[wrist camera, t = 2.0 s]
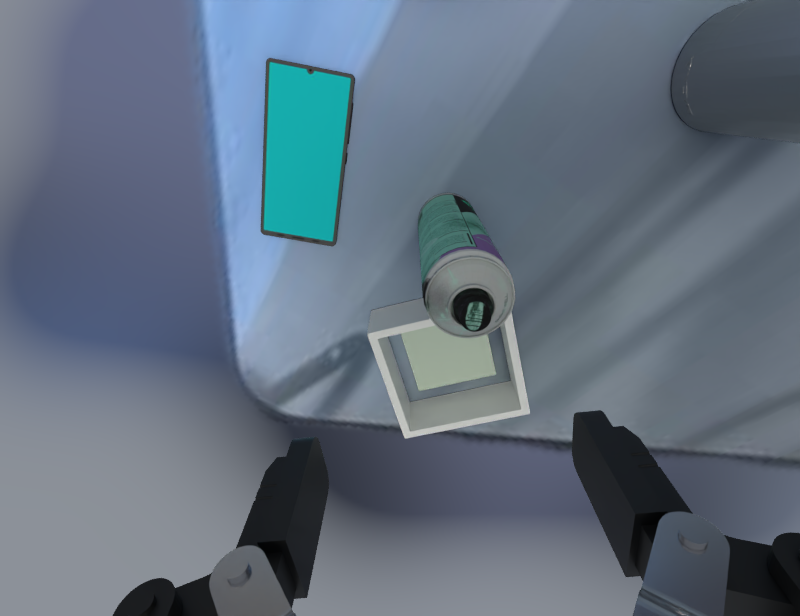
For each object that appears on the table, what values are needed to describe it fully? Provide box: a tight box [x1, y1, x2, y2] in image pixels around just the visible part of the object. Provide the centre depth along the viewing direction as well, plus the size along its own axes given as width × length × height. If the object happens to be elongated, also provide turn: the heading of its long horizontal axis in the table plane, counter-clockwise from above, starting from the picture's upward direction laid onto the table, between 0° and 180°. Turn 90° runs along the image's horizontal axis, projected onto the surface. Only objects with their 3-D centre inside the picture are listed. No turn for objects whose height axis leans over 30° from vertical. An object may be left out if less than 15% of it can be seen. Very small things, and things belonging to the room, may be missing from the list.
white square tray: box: [367, 298, 530, 438], centre depth 45 cm, size 14×14×5 cm
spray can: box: [418, 193, 515, 338], centre depth 32 cm, size 6×6×20 cm
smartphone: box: [261, 58, 355, 246], centre depth 38 cm, size 7×1×15 cm
